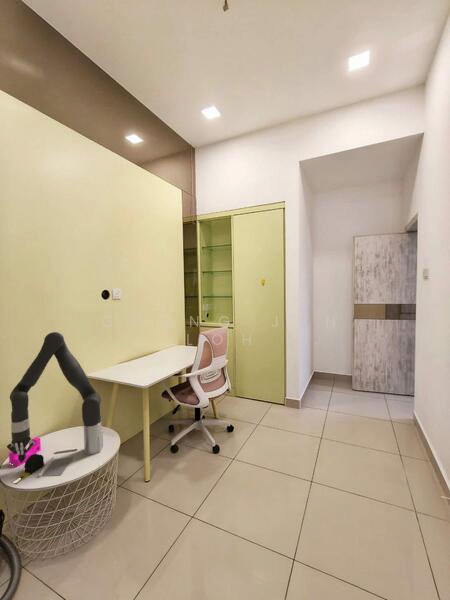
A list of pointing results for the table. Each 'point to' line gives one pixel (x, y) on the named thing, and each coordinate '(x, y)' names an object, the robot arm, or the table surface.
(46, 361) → the robot arm
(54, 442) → the table surface
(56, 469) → the mat
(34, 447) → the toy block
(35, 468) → the tape measure
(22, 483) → the table surface
